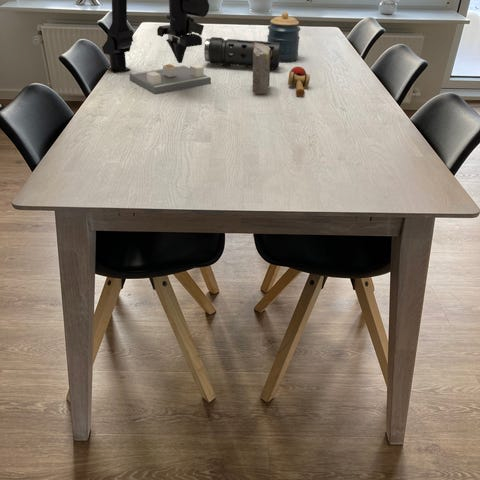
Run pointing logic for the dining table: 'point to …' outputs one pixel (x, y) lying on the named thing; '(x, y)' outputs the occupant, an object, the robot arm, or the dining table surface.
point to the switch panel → (171, 79)
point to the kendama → (299, 80)
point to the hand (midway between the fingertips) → (179, 62)
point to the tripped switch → (169, 70)
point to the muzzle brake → (237, 52)
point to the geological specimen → (261, 68)
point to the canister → (285, 36)
